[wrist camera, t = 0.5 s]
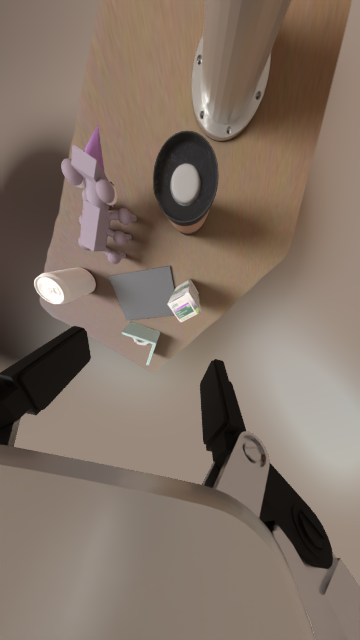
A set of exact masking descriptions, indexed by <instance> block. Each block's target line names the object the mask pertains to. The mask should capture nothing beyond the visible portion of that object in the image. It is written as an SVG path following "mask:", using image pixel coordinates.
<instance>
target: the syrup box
mask: <svg viewBox="0 0 360 640" xmlns="http://www.w3.org/2000/svg"><path fill="white" fill-rule="evenodd" d="M167 305H168V306H169V307H170V309H171V310H172V312H173V313H174V314H175V316H176V317H177V318H178V320H179V321H180V322H183V321H185V320H187V319H189V318H191V317H193V316H195V315H197V314H199V313H201V304H200V295H199V292H198V291H197V289H196V287H195V286H194V284H193V282H192V281H191V279H189V280H187V281H186V282H184V283H182V284H181V285H179V286H178V287H176V288H175V290H174V292H173V294H172V296H171V298H170V300H169V302H168V304H167Z"/></svg>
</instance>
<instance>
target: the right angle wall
mask: <svg viewBox="0 0 360 640" xmlns="http://www.w3.org/2000/svg"><path fill="white" fill-rule="evenodd" d="M122 334H124V335H127V336H130V337H133V339H134V342H137V344H139V345H146V344H149V343H151V344H153V345H152V348H151V351H150V354H149V357H148V360H147V363H146V365H149V363H150V360H151V358H152V355H153V352H154V349H155V347H156V344H157V341H158V338H159V335H160V332H159V331H156V330H154V329H151V328H148V327H145V326H142V325H139V324H136V323H133V322H130V323H129V324H128V326H127V327H126V328H125V329H124V330H123V331H122ZM141 340H142V341H141Z"/></svg>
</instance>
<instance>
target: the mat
mask: <svg viewBox="0 0 360 640" xmlns="http://www.w3.org/2000/svg"><path fill="white" fill-rule="evenodd" d="M108 277H109V279H110V282H111V284H112V287H113V289H114V291H115V294H116V296H117V298H118V301H119V303H120V306H121V308H122V310H123V313H124V315H125V318H126V320H134V319H143V318H152V317H162V316H171V315H175V314H174V313H173V312H172V310H171V309H170V307H169V306H168V305H167V304H168V302H169V300H170V298H171V296H172V294H173V292H174V285H173V279H172V274H171V269H170V266H166V267H160V268H154V269H148V270H143V271H137V272H131V273H125V274H119V275H113V276H108Z"/></svg>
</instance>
